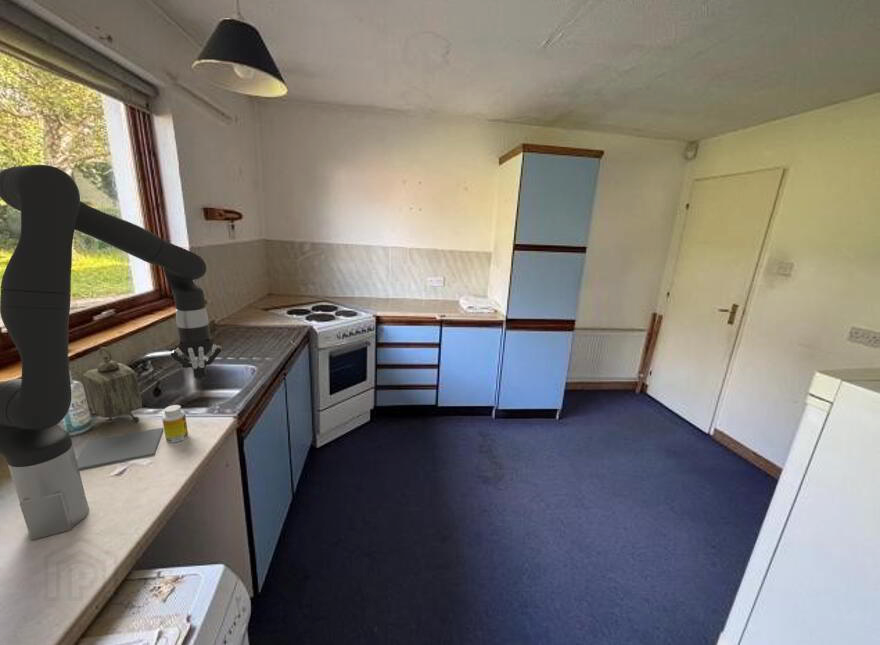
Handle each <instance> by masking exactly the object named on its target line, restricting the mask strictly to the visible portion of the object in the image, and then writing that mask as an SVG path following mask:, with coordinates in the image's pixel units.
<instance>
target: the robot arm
mask: <svg viewBox="0 0 880 645" xmlns="http://www.w3.org/2000/svg"><path fill="white" fill-rule="evenodd" d="M0 199H1V200H2V201H3V202H4V203H5V204H7V205H8V206H9V207H11V208H13V209H14V210H16V211H18V212H20V233H19V239H18V241H17V244H16V247H15V249H14V251H13V252H12V254H11V257H10V259H9V260H8V263H7V264H6V267H5V269H4V272H3V275H2V277H1V283H0V318H1V320H2V323H3V325H4V327H5V330H6V331H7V333H8V335H9V336H10V339H11V340H12V342H13V344H14V346H15V347H16V350H17V351H18V354H19V357H20V362H21V378H14V379H9V380H5V381H2V382H0V454H1V455H2V456H3V457H4V459H5V460H6V464H7V466H8V469H9V470H8V471H9V473H10V477H11V479H12V482H13V486H14V488H15V492H16V495H17V497H18V500H19V506H20V510H21V513H22V516H23V519H24V522H25V524H26V528H27V532H28V535H29V537H30V540H31V541H33V540H34V541H35V540H37V539H41V538H42V539H43V538H44V537H50V536H53V535H57V534H61V533H65V532H69V531H71V530H72V529H73V527H74V526H76V525H77V524H78V523H80V522H81V521H82V520H83V519H84V518H85V517H86V516H87V515H88V514H89V510H90V508H89V504H88V500H87V495H86V493H85V488H84V483H83V480H82V476H81V473H80V470H79V468H78V464H77V457H76V454H75V450H74V445H73V441H72V438H71V435H70V432H68V431H66V430H65V429H63V428H62V427H60V426H59V425H58V424H59V423H60V422H62V421H63V419H64V418H65V417H66V416H67V414H68V412H69V410H70V407H71V404H72V384H71V376H70V364H69V363H70V361H69V321H70V320H69V319H70V314H71V313H70V311H71V299H72V298H71V297H72V296H71V295H72V288H71V287H72V286H71V285H72V268H73V267H72V265H73V264H72V263H73V262H72V261H73V241H74V236H75V235H74V234H75V231H78V232H80V233H81V234H85V235H87V236H89V237H91V238H94V239H95V240H98V241H101V242H103V243H105V244H107V245H109V246H111V247H114V248H116V249H118V250H120V251H123V252H125V253H126V254H129V255H130V256H133V257H136V258H137V259H139V260H142V261H143V262H145V263H147V264H151V265H154V266H159V267H161V268H162V267H163V272H164V275H165V276H164V277H165V279H166V281H167V283H168V285H169V287H170V289H171V292H172V294H173V300H174V305H175V319H176V320H175V321H176V327H177V333H178V340H179V344H178V347H177V348H176V349H173V350H172V351H171V353H170V357H172V358H173V359H175V360H176V361H177V362H178V363H180V364H181V366H184V367H186V368H191V369H192V370H193V371H192V372H193V376H194V379H196V380H197V381H200V380H204V378H205V377H206V375H207V370H206V366H211V364H212V363H213V362H214V361H215V360H216V358H217V357H218V355H219V354H220V353H221V351H222V346H221V345H217V344H214V340H212V338H211V332H210V330H211V329H210V324H209V323H210V322H209V315H208V312H207V307H206V301H205V294H204V293H205V292H204V290H203V289H202V288H201V287H199V286H198V285H197V284H196V283H195V281H194V280H199V279H201V278H202V277H204V276H205V274H206V272H207V264H206V262H205V260H204V259H203V258H202V257H201V256H200V255H198V254H197V253H195V252H192V251H191V250H189V249H186V248H183V247H181V246H179V245H176V244H173V243H170V241H167V240H165V239H164V238H162V237H160V236H158V235H157V234H155V233H153V232H151V231H149V230H148V229H145V228H143V227H142V226H139V225H137V224H135V223H133V222H130V221H128V220H125V219H123V218H119V217H117V216H114V215H111V214H109V213H106V212H103V211H102V210H100V209H97V208H96V207H93V206H91V205H89V204H86V203H85V202H83V201H81V196H80V189H79V187H78V185H77V183H76V182H75V180H74V179H73V178H72V177H71V175H69V174H68V173H67V172H65V171H64V170H63V169H60V168H59V167H56V166H52V165H48V164H28V165H17V166H12V167H9V168H5V169H3V170H2V171H0ZM210 350H211V352H212V353H211V354H210V355H209V356H208V358H207V359H206V355H208V353H209V352H210ZM183 354H184V355H183ZM185 355H186V356H187V357H189V358H190V359H188V358H187V357H186V356H185Z"/></svg>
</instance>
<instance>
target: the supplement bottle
mask: <svg viewBox="0 0 880 645" xmlns="http://www.w3.org/2000/svg"><path fill="white" fill-rule="evenodd" d="M161 420H162V425H163V432H164V437H165V441H166V442H167V443H170V444H171V443H179V442H181V440H182V441H184V440H185V439H187V438H188V436H189V430H188V425H187V417H186V412H185V411H184V410H182V406H181V405H179V404H173V405H169V406H167V407H165V408H164V414H163V415H162V417H161Z"/></svg>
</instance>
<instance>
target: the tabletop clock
mask: <svg viewBox="0 0 880 645" xmlns="http://www.w3.org/2000/svg"><path fill="white" fill-rule="evenodd" d="M103 350H104V351H105V352H106V353H107V355H104V354H103ZM99 353H100V356H101V358H102V359H103V360H104V361H102V362H100V363H99V364H98V365H97V368H93V369H90V370H87V371H86V372H84V373H83V374H82V375H81V380H82V384H83V388H84V389H85V390H84V393H86V394H85V398H86V397H87V398H86V401H88V402H87V404H88V406H89V409H90V410H91V411H93V412H94V413H95V414H96V415H98V416H100V417H101V418H104V419H105V418H107V420H106V423H107V424H110V425H111V424H112V423H113V422H114V418H117V417H119V416H122V415H125V414H126V415H128V416H129V417H131V418H132V422H135V423H137V422H138V421H139V420H140V418H139V416H134V414H133V413H132V412H133V411H136V410H139V409H142V406H143V402H142V395H141V391H140V390H141V389H140V385H139V381H138V377H137V375H136V372H135V371H134V369H132V368H131V367H129V366H127V365H126V364H123V363H121V362H117V361H115V360H112V359H113V358H112V355H111V352H110V350H109V349H108V348H107V347H104V346H101V347H100V348H99Z"/></svg>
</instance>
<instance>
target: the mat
mask: <svg viewBox="0 0 880 645" xmlns="http://www.w3.org/2000/svg"><path fill="white" fill-rule="evenodd" d="M163 432H164V427H157V428H153V429H148V430H140V431H136V432H135V431H134V432H129V433H124V434H117V435H112V436H111V435H110V436H105V437H100V438H93V439H88V441H87V443H86V445H85V446H84V447H83V449H82V450H81V452H80V454H79V455H78V457H76V460H77V464H78V468H79V471H81V470H85V469H91V468H94V467H101V466H106V465H111V464H115V463H121V462H126V461H131V460H136V459H140V458H146V457H150V456H151V455H152V456H154V455H155V453H156V451H157V449H158V445H159V443H160V440H161V437H162V434H163ZM152 456H151V457H152Z"/></svg>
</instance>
